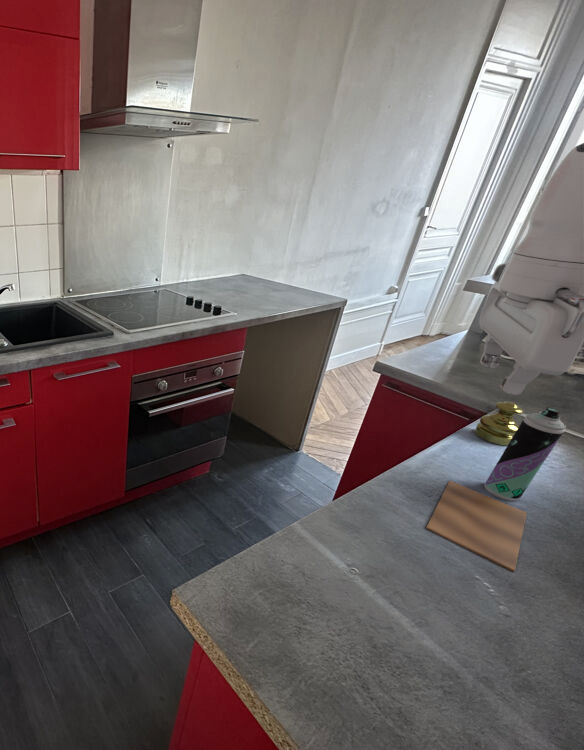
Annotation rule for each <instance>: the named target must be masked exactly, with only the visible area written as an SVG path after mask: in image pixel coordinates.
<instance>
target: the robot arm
mask: <svg viewBox="0 0 584 750" xmlns="http://www.w3.org/2000/svg"><path fill="white" fill-rule="evenodd" d="M491 275H492V276H491V280H492V281H493V282H494V283H493V284H492V285H491V287H490V289H489V292H488V294H487V297H486V299H485V302H484V304H483V307H482V309H481V312H480V315H479V320H478V321H479V323H478V324H479V325H478V326H479V327H480V328H481V329H482V330H483V331H484V332H485V333H486V334H487V336H486V337H485V341H484V346H483V353H482V355H481V357H480V359H479V363H480V364H481V365H482V367H484V368H489V369H497V368H498V367H499V365H500V363H501V361H502V360H503V357H502V354H503V351H505V352H506V354H507V355H508V356H509V357H510V358H511V359H513V361H514V362H515V363H514V365H513V370H512V372H511V373H510V374H509V375H508V376H504V377H503V379H502V382H501V383H500V384H499V387H500V388H501V390H502V391H503V392H504V393H505V394H508V395H514V396H519V395H521V394H522V393H523V391H524V389H525V388H526V386H527V385H528V384H530V383H531V382H532V381H533V380H535V379H536V378H538V376H540V374H542V375H549V376H555V377H556V376H562V375H563V374H564V373H566V372H567V371H568V370H570V368H571V367H572V365H573V364H574V361H575V359H577V358H576V357H577V356H578V354H579V352H580V350H581V348H582V346H583V344H584V142H583V143H580V144H578V145H576V146H574V147H573V148H572V149H571V150H570V151H569V152H568V153H567V154H566V155H565V157H564V158H563V159H562V160H561V162H560V163H559V164H558V166H557V167H556V169H555V170H554V172H553V173H552V175H551V177H550V178H549V180H548V181H547V183H546V185H545V186H544V189H543V190H542V192H541V194H540V196H539V198H538V200H537V202H536V204H535V206H534V207H533V210H532V213H531V215H530V218H529V225H528V229H527V232H526V234H525V236H524V238H523V239H522V240H521V241H520V243H519V244H517V246H516V247H515V249H514V250H513V253H512V254H511V256H510V258H509V259H508V261H506V262H503V263H501V264H498V265H497V266H496V267H495V269H494V270H493V272H492V274H491Z"/></svg>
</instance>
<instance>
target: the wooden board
mask: <svg viewBox="0 0 584 750" xmlns="http://www.w3.org/2000/svg"><path fill="white" fill-rule="evenodd" d="M527 514H528V513H527V512H526V511H524V510H521V509H519V508H516V507H514V506H512V505H509V504H507V503H505V502H503V501H500V500H497V499H495V498H492V497H491V496H488V495H485V494H483V493H481V492H479V491H476V490H473V489H471V488H468V487H467V486H464V485H462V484H459V483H456V482H454V481H452V480H449V481H448V482H447V485H446V487H445V489H444V491H443V493H442V495H441V497H440V499H439V500H438V503H437V505H436V507H435V509H434V511H433V513H432V515H431V517H430V519H429V521H428V522H427V525H426V528H425V529H426V530H429V531H430V532H432V533H434V534H435V535H438V536H441V537H443V538H445V539H446V540H449V541H451V542H452V543H455V544H457V545H459V546H461V547H463V548H464V549H467V550H469V551H471V552H473V553H474V554H477V555H479V556H481V557H483V558H485V559H487V560H489V561H491V562H493V563H495V564H496V565H499V566H501V567H503V568H504V569H507V570H509V571H511V572H513V573H514V572H515V571H516V569H517V563H518V558H519V553H520V550H521V549H520V548H521V543H522V539H523V535H524V529H525V526H526V525H525V524H526V519H527Z"/></svg>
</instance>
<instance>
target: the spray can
mask: <svg viewBox="0 0 584 750" xmlns="http://www.w3.org/2000/svg"><path fill="white" fill-rule="evenodd" d="M559 414H560V411H558V410H556V409H555V408H552V407H546V408H545V410H543V411H539V412H538V413H537V412H534V413H533V412H529V413H527V414H526V416H525V417H524V418H523V419H522V421H521V422H520V424H519V428H518V429H517V431H516V433H515V434H514V436H513V438H512V439H511V441H510V443H509V444H508V445H506V447H505V449H504V450H503V452H502V454H501V456H500V458H499V459H498V461H497V463H496V464H495V466H494V468H493V469H492V471H491V472H490V474H489V476H488V477H487V479H486V481H485V483H484V484H483V486H484V489H485V490H486V491H487V492H489V494H491V495H493V496H495V497H497V498H500V499H501V500H504V501H508V502H518V501H519V500H520V499H521V497H522V496H523V495H524V494H525V492H526V490H527V488H528V487H529V486H530V484H531V482H532V481H533V480H534V478H535V477H536V475H537V473H538V472H539V470H540V469H541V468H542V466H543V464H544V463H545V461H546V460H547V459H548V457H549V455H550V454H551V452H552V451H553V449H554V448H555V446H556V444H557V443H558V442H559V440H560V438H561V437H562V436H563V434H564V433H565V429H566V428H567V425H566V424H565V423H564V422H562V420H561V417H560V416H559Z"/></svg>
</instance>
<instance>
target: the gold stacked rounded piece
mask: <svg viewBox="0 0 584 750" xmlns="http://www.w3.org/2000/svg"><path fill="white" fill-rule="evenodd" d="M495 407H496V409H498V412H496V413H491V414H485V415H482V416H481V417H480V419H479V422H478V423H477V424H476V426H475V429H474V430H473V431H474V434H475V435H476V436H477V437H479V438H480V439H482V440H484V441H486V442H489V443H492V444H495V445H499V446H508V444H509V443H510V441H511V439H512V438H513V436H514V434H515V433H516V431H517V429H518V428H519V426H520V424H518V423H517V421H516V420H515V419H514V417H515V416H518V415H522V414H524V412H525V410H524V409H523V408H522V407H521V406H520V405H518V404H517V403H515V402H513V401H498V402H496V403H495Z"/></svg>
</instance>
